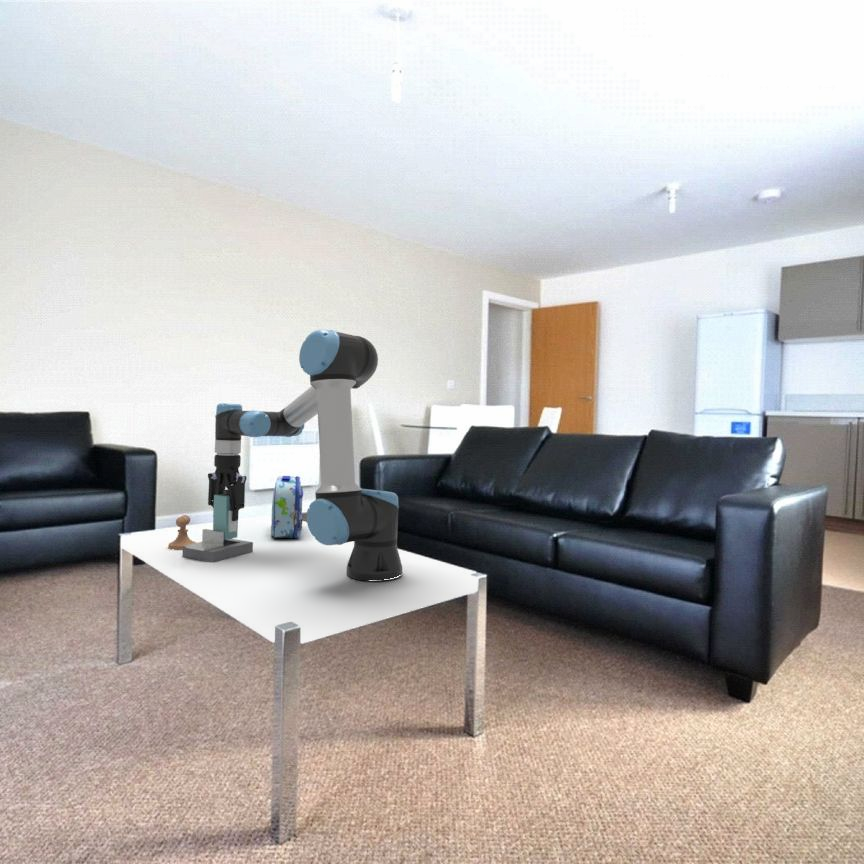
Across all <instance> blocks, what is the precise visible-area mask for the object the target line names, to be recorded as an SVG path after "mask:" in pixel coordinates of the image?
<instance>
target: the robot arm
mask: <svg viewBox="0 0 864 864" xmlns="http://www.w3.org/2000/svg"><path fill="white" fill-rule="evenodd" d="M298 356H299V357H298V358H299V359H298V361H299V366H300V368H301V369H302V371H303V372H304V373H305V374H307V376H308V375H309V381H310V382H309V384H310V387H309V388H307V390H306V389H305V391H304V392H303V393H301V394H300V395H299V396H298V397H297V398H295V399H294V400H293V401H291V402H290V403H289V404H288V405H287V406H285V407H284V408H283V409H282V410H280V411H266V410H265V411H261V410H253V409H252V410H243V405H242V404H241V403H224V402H220V403H218V404H217V405H216V410H215V411H216V412H215V416H214V417H215V425H214V426H215V429H214V430H215V432H214V435H215V440H214V453H215V455H214V461H213V462H214V463H213V466H214V468H215V471H214V472H211V473H210V472H209V473H208V474H207V479H208V492H207V493H208V494H207V495H208V496H207V505H208V506H211V507H212V509H213V511H212V512H213V513H212V515H213V514H214V495H221V494H223V492H224V490H228V493H229V496H230V506H231V509H229V519H228V532H234V531H237V521H238V522H239V512H240V510H241V509H244V508H245V499H246V498H245V497H246V494H245V493H246V482H247V476H246V475H242V474H240V469H239V468H240V467H241V461H242V459H241V458H242V457H241V455H240V453H241V450H242V449H241V448H242V436H243V437H250V438H260V437H285V438H291V437H298V436H299V435H301V434H302V433H303V430H305V424H306V423H307V422H309V421H310V420H312V418H314V417H315V416H317V422H318V425H317V427H318V443H319V444H318V445H319V449H318V450H319V465H320V467H319V468H320V469H319V470H320V485H319V487H318V488H317V489H316V490H315V499H314V500H313V501H311V503H310V504H309V506H308V508H307V511H306V523H307V524H306V525H307V528H308V531H309V532H310V534H311V535H312V536H313V537H314V539H315V540H316V541H317V542H318V543H320V544H322V545H324V546H333V545H334V546H335V545H336V546H340V545H341V546H342V545H344V544H346V543H350V542H351V543H352V542H353V547H352V551H351V553H350V556H349V559H348V562H347V565H346V575H347V577H349V578H350V579H353V580H356V579H357V581H362V580H384V579H390V578H394V577H397V576H399V575H401V574H402V575H403V564H402V560H401V557H400V553H399V550H398V530H399V529H398V526H399V525H398V524H399V508H400V506H399V496H398V495H397V494H396V493H395V492H392V491H387V490H386V491H385V490H380V489H379V490H377V489H367V488H362V487H360V486H359V485H358V484H357V483H356V475H355V474H356V471H355V454H354V453H355V451H354V433H353V415H352V414H353V411H352V395H351V394H352V393H351V391H352V390H353V389H354V390H355V389H359V388H360V387H362V386H363V385H364V384H366V383H367V382H368V381H369V380H370V379H371V378H372V377H373V376H374V374H375V372H376V370H377V368H378V364H379V363H378V362H379V358H378V352H377V350H376V347H375V346H374V345H373V343H372V342H371V341H370V340H368V339H367V338H365V337H362V336H360V335H353V334H350V333H344V332H339V331H336V330H332V329H329V330H328V329H316V330H314V331H312V332H310V333H309V334H308V335H307V336H306V337H305V340H304V341H303V342H302V344H301V347H300V350H299V355H298ZM237 532H238V531H237Z"/></svg>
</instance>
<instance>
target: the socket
mask: <svg viewBox="0 0 864 864" xmlns="http://www.w3.org/2000/svg"><path fill="white" fill-rule="evenodd" d="M253 547H254V542H253V541H248V540H241V539H236V538H232V539H228V540H223V547H219V548H215V549H211V550H206V551H201V550H195V549H190V548H186V546H183V550H182V556H181V557H183V558H188V559H193V560H199V561H205V562H208V563H215V562H219V561H220V562H221V561H223V560H227V559H231V558H235V557H238V556H242V555H247V554H250V553H254V552H253V551H254V550H253V549H254V548H253Z"/></svg>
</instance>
